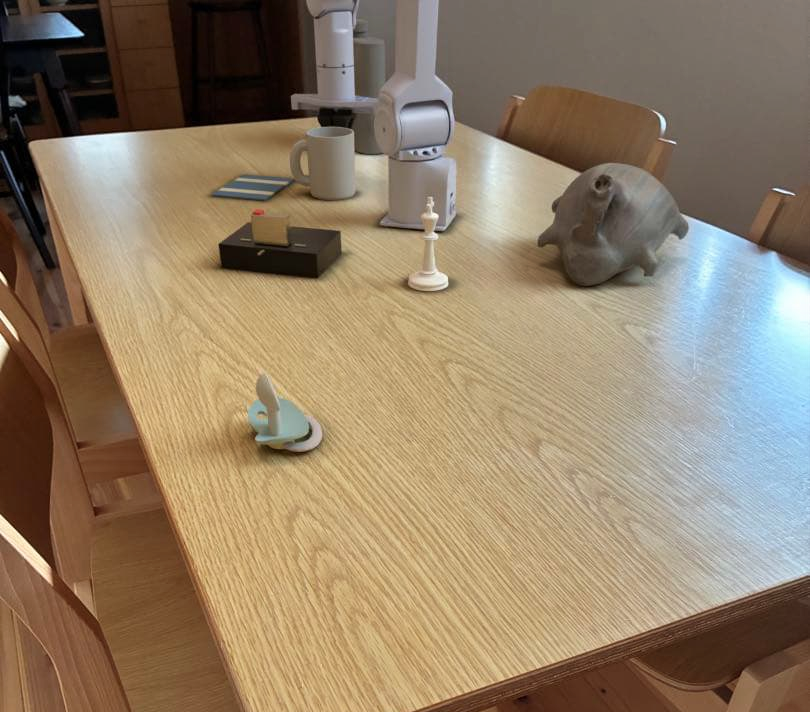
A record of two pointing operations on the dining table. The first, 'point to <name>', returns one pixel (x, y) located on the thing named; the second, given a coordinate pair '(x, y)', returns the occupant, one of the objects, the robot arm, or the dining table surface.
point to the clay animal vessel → (612, 223)
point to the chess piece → (428, 257)
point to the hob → (282, 252)
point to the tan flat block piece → (271, 228)
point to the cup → (326, 162)
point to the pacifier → (281, 420)
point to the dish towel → (253, 187)
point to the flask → (367, 84)
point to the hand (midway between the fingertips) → (339, 161)
